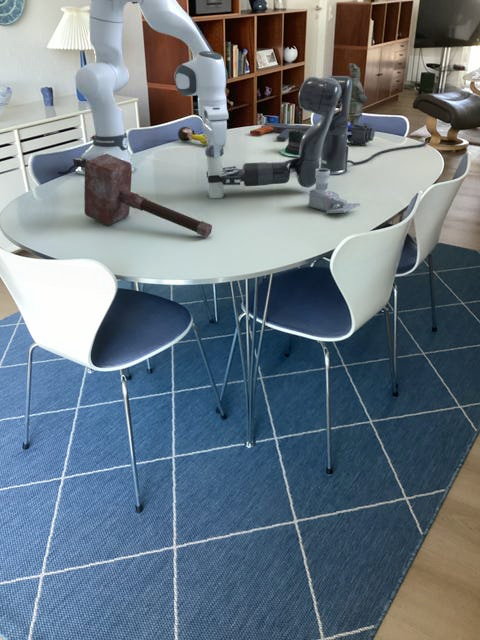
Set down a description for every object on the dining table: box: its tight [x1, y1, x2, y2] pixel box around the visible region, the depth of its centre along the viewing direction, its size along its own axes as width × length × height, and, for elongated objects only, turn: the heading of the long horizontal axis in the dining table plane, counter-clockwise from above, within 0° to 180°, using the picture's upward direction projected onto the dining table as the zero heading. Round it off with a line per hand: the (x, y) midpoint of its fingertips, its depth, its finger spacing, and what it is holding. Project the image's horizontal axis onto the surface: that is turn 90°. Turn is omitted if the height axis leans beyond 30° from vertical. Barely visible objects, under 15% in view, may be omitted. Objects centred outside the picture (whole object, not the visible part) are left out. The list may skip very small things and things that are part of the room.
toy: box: [347, 122, 376, 146], centre depth 244 cm, size 9×9×15 cm
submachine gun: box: [249, 122, 313, 141], centre depth 263 cm, size 32×3×25 cm
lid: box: [204, 145, 224, 157], centre depth 180 cm, size 6×6×2 cm
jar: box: [206, 155, 225, 199], centre depth 183 cm, size 5×5×16 cm
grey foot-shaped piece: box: [308, 167, 361, 214], centre depth 169 cm, size 9×12×15 cm
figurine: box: [177, 126, 209, 146], centre depth 251 cm, size 13×8×25 cm
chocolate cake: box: [279, 128, 310, 158], centre depth 234 cm, size 15×19×20 cm
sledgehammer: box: [83, 154, 213, 238], centre depth 159 cm, size 17×10×40 cm
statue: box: [348, 62, 368, 127], centre depth 262 cm, size 11×9×30 cm
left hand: (214, 154), depth 180 cm, fingers closed on lid, 5 cm apart
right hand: (207, 177), depth 183 cm, fingers closed on jar, 5 cm apart
